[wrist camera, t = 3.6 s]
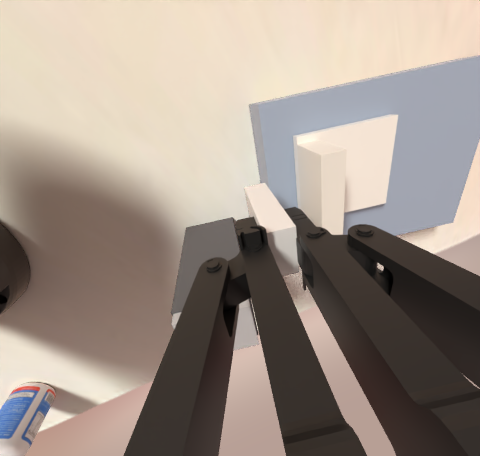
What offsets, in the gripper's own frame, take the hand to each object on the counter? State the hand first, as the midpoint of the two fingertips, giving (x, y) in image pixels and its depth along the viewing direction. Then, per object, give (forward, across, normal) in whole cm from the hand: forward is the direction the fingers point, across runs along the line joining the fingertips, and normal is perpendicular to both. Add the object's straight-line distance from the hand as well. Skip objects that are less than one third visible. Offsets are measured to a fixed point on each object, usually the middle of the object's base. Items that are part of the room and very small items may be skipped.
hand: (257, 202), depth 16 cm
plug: (+7, -4, -6) cm, 10 cm away
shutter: (+3, +8, 0) cm, 8 cm away
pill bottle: (+7, -36, -25) cm, 44 cm away
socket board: (+7, +10, -1) cm, 12 cm away
